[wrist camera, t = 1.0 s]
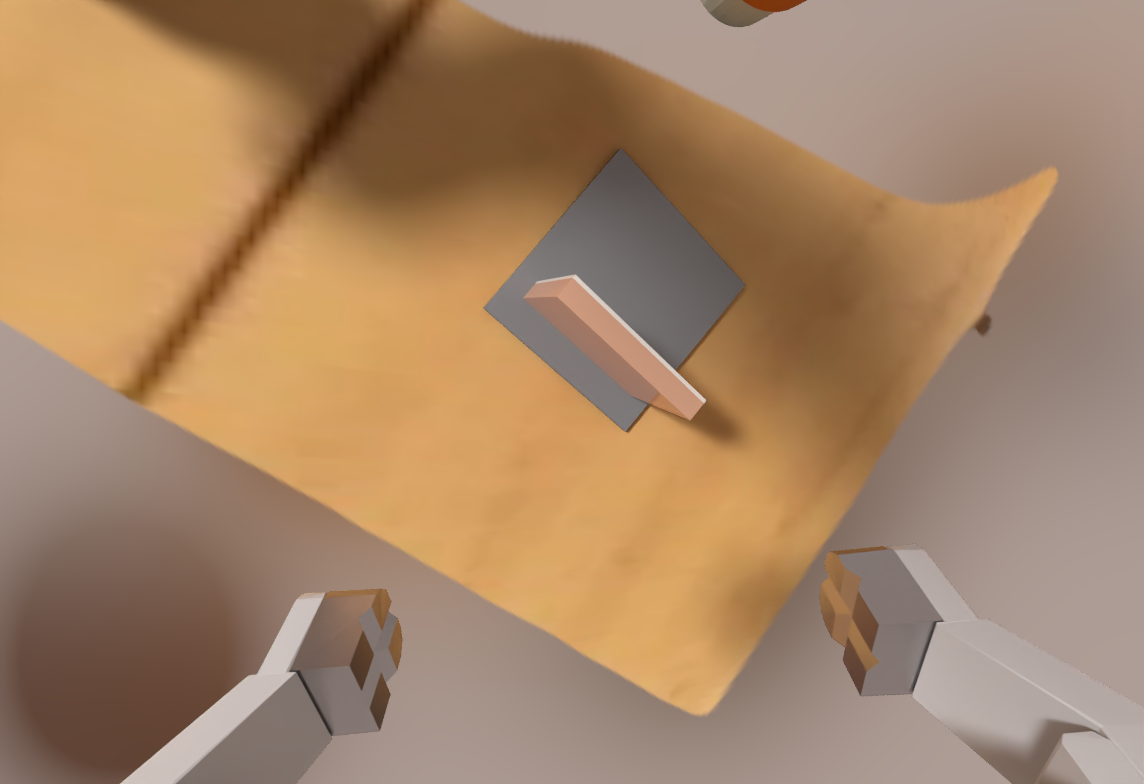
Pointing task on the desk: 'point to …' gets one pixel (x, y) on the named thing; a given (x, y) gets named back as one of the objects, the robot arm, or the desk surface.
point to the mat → (621, 280)
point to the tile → (612, 344)
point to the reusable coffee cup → (746, 10)
